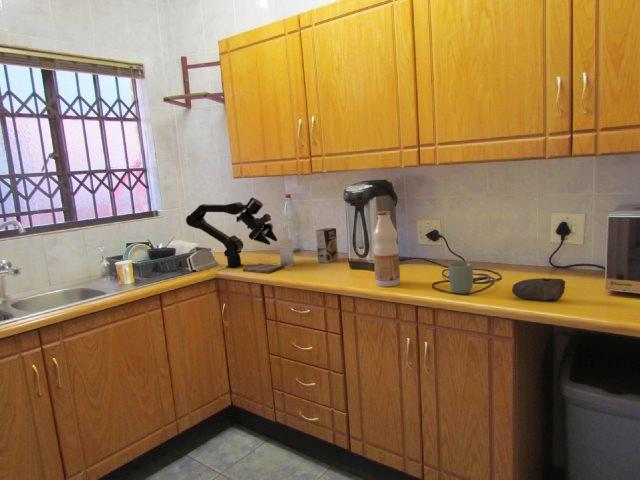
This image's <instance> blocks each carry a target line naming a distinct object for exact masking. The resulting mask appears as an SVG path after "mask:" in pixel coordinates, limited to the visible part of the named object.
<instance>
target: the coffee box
mask: <svg viewBox="0 0 640 480" xmlns="http://www.w3.org/2000/svg"><path fill="white" fill-rule="evenodd" d="M315 236H316V250H317V262H318V263H324V264H330V263H332V262H335V261H337V260H339V253H338V250H339V249H338V239H337V228H336V227H329V228H322V229H318V230H315Z"/></svg>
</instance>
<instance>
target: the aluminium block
mask: <svg viewBox="0 0 640 480" xmlns="http://www.w3.org/2000/svg"><path fill="white" fill-rule="evenodd" d="M278 246H279V248H278V249H279V258H280V265H284V268H289V267H293V266H294V265H295V258H294V257H295V256H294V248H293V238H282V239H279V240H278Z"/></svg>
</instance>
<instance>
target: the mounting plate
mask: <svg viewBox="0 0 640 480" xmlns="http://www.w3.org/2000/svg"><path fill="white" fill-rule="evenodd" d="M283 269H285V267H284V265H281V264H271V263H270V264H269V263H257V264H254V265H251V266H247V267H245V268H243V269H242V272H244V273H257V274H267V275H268V274H271V273H275V272H276V271H279V270H283Z"/></svg>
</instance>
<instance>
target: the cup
mask: <svg viewBox="0 0 640 480" xmlns="http://www.w3.org/2000/svg"><path fill="white" fill-rule="evenodd" d="M448 280H449V281H448V282H449V286H450V289H451V291H452V292H453V293H455V294H457V293H458V295H465V294H469V293H470V292H471V291H472V289H473V285H474V265H473V263H472V262H469V261H453V262H449V264H448Z"/></svg>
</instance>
